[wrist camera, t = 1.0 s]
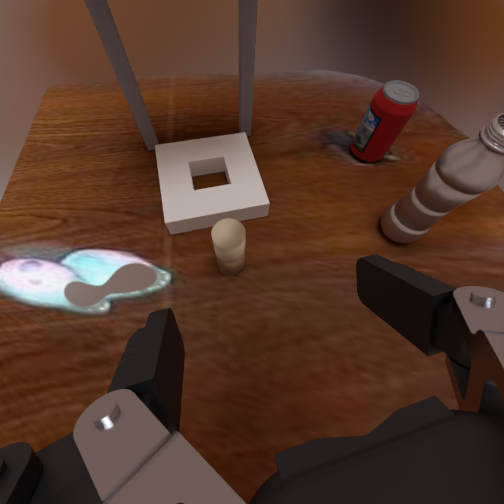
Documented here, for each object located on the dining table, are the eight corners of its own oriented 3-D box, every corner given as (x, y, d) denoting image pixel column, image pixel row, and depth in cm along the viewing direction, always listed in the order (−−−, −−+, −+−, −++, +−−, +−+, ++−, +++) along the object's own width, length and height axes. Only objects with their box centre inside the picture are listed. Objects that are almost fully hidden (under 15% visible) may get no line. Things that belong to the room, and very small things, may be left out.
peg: (213, 269, 37) (205, 240, 28) (224, 247, 39) (220, 214, 30) (238, 279, 37) (237, 253, 28) (248, 256, 38) (250, 225, 30)
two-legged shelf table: (265, 177, 45) (295, -39, 21) (153, 196, 42) (38, -28, 18) (247, 125, 51) (254, -93, 27) (146, 139, 48) (52, -92, 24)
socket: (267, 215, 42) (269, 203, 38) (170, 234, 39) (164, 223, 36) (244, 147, 48) (245, 132, 45) (160, 160, 46) (154, 145, 42)
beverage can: (351, 136, 51) (382, 73, 40) (384, 145, 50) (424, 84, 39) (345, 159, 48) (376, 98, 37) (380, 169, 47) (422, 110, 36)
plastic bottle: (393, 207, 43) (503, 94, 25) (423, 236, 41) (567, 135, 23) (367, 224, 42) (465, 115, 24) (396, 255, 40) (529, 161, 21)
